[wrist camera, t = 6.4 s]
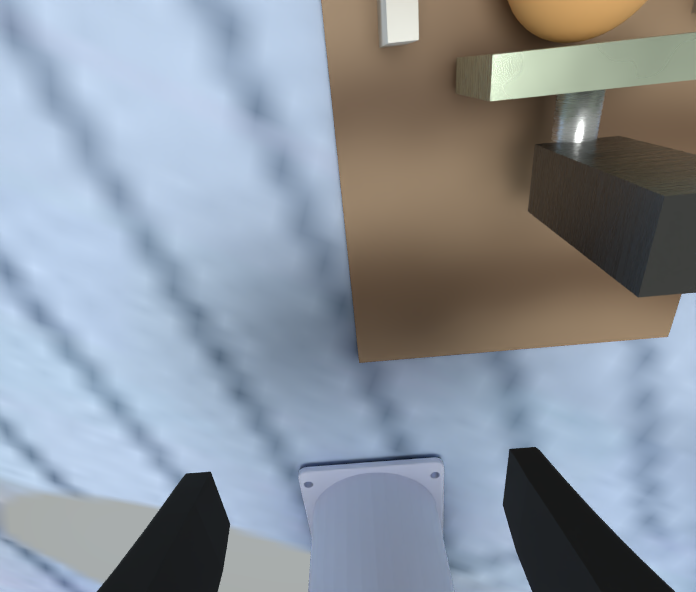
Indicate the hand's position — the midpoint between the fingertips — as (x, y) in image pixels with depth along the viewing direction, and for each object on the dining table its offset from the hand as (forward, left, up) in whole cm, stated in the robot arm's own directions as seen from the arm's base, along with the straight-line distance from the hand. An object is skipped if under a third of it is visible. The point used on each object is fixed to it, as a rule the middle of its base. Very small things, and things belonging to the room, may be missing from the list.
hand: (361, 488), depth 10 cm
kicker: (+7, -7, -8) cm, 13 cm away
